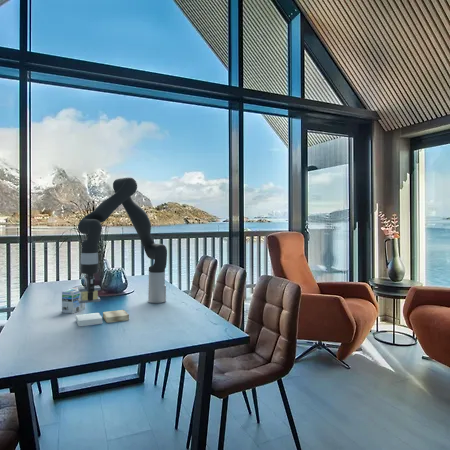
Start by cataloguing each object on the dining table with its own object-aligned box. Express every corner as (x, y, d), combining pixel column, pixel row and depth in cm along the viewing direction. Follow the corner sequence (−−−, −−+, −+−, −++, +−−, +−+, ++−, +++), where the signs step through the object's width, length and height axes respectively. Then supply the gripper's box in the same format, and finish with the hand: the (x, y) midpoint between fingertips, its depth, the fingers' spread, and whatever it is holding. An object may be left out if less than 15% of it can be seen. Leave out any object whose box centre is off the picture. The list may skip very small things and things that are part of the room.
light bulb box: (73, 313, 176) (73, 292, 176) (61, 312, 177) (61, 291, 177) (85, 308, 186) (85, 288, 186) (74, 307, 188) (74, 287, 187)
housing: (98, 298, 167) (98, 285, 167) (100, 301, 162) (100, 287, 162) (77, 300, 163) (78, 287, 163) (79, 303, 158) (79, 289, 158)
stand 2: (123, 314, 175) (123, 309, 175) (128, 320, 167) (128, 314, 167) (102, 317, 171) (102, 312, 171) (106, 322, 162) (107, 317, 162)
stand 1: (98, 317, 170) (98, 312, 170) (102, 323, 161) (102, 318, 161) (76, 320, 165) (76, 315, 165) (78, 326, 156) (78, 320, 156)
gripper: (100, 264, 158) (100, 301, 158) (95, 260, 170) (95, 295, 171) (83, 265, 154) (82, 303, 155) (78, 261, 167) (78, 296, 167)
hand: (89, 299), depth 163 cm, fingers closed on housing, 5 cm apart
